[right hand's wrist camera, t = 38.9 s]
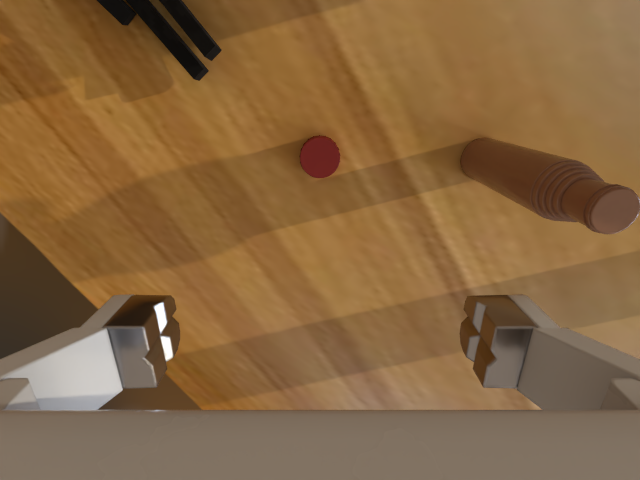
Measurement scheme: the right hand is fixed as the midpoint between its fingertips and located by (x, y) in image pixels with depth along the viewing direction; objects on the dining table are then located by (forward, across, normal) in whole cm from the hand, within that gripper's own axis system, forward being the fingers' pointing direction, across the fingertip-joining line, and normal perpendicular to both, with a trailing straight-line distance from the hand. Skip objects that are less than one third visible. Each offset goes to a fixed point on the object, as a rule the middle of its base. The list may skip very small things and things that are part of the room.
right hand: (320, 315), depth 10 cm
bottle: (+29, +17, 0) cm, 34 cm away
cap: (+28, 0, 0) cm, 28 cm away
